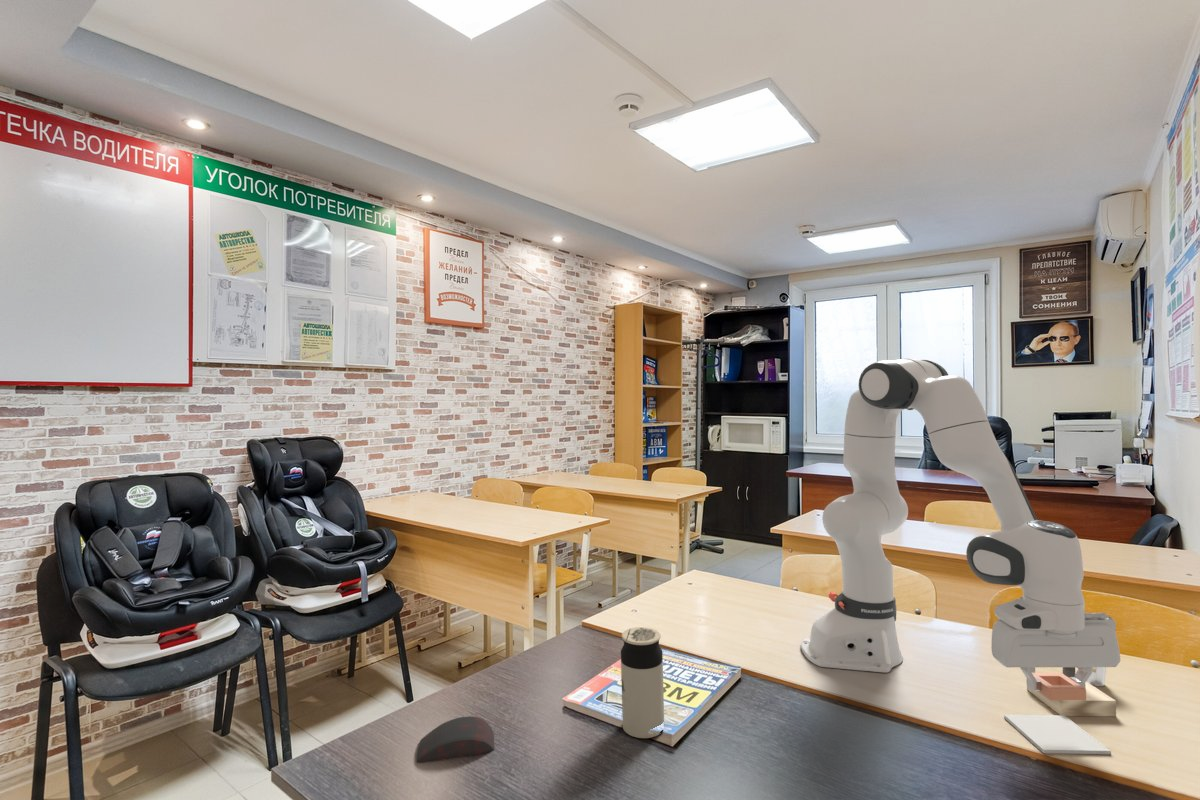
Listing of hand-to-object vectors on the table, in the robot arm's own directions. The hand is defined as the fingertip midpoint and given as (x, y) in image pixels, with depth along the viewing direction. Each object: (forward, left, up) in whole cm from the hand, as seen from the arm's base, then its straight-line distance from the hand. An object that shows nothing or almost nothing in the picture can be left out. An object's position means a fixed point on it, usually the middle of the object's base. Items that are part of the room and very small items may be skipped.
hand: (1056, 689), depth 106 cm
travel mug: (-75, +1, -9) cm, 75 cm away
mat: (0, 0, -9) cm, 9 cm away
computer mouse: (-109, -6, -9) cm, 110 cm away
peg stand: (+10, +12, -9) cm, 18 cm away
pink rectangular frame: (0, 0, 0) cm, 0 cm away
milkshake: (+21, +20, -9) cm, 30 cm away
